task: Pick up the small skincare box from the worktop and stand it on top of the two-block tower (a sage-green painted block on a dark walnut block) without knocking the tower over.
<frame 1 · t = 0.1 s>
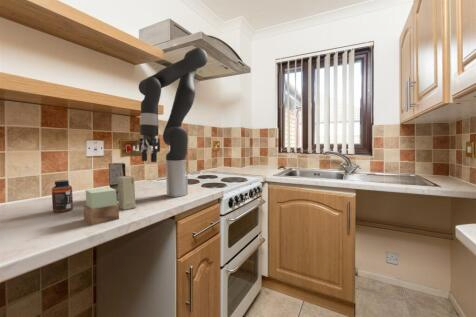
hand: (148, 161, 97), 17 cm above the worktop, tool pointing down, fingers open, 8 cm apart
walnut block: (101, 219, 73), on the worktop, touching green block
supplement bottle: (63, 211, 82), on the worktop
coffee box: (118, 198, 102), on the worktop
green block: (101, 204, 73), point 5 cm above the worktop, touching walnut block
skincare box: (127, 208, 87), on the worktop
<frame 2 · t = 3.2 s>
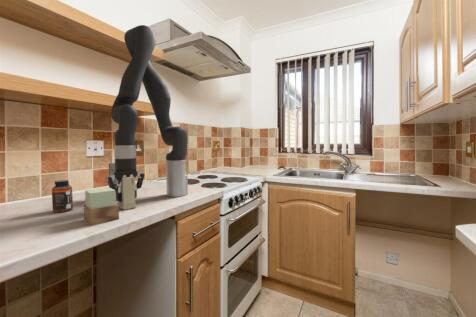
hand: (126, 200, 87), 3 cm above the worktop, tool pointing down, fingers closed on skincare box, 4 cm apart
skincare box: (127, 207, 87), on the worktop, touching gripper
everything else where it was.
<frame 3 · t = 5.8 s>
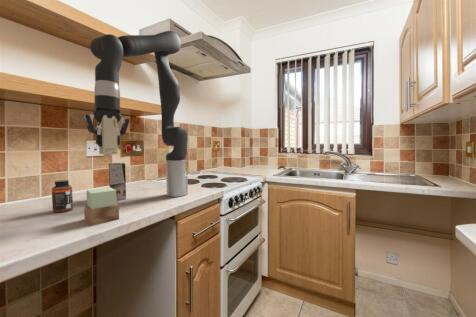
hand: (108, 146, 76), 24 cm above the worktop, tool pointing down, fingers closed on skincare box, 4 cm apart
skincare box: (108, 155, 76), point 21 cm above the worktop, touching gripper
everything else where it was.
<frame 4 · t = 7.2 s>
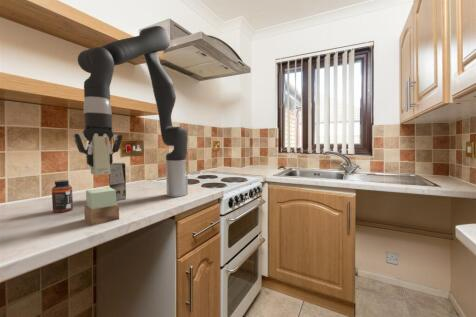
hand: (100, 165, 72), 18 cm above the worktop, tool pointing down, fingers closed on skincare box, 4 cm apart
skincare box: (100, 174, 72), point 15 cm above the worktop, touching gripper
everything else where it was.
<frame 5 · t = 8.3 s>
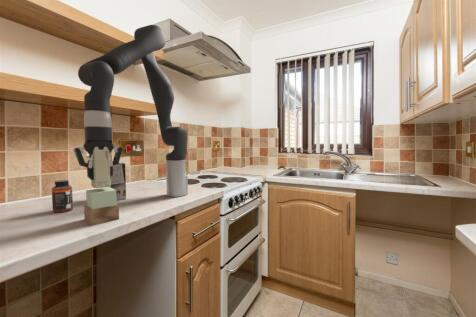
hand: (100, 178, 72), 14 cm above the worktop, tool pointing down, fingers closed on skincare box, 4 cm apart
skincare box: (101, 187, 73), point 11 cm above the worktop, touching gripper
everything else where it was.
when the fingers open (14 cm above the worktop, at t = 8.7 s): skincare box drops 1 cm, resting on green block.
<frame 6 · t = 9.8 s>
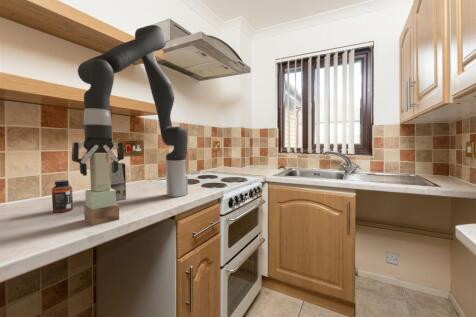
hand: (100, 174, 72), 15 cm above the worktop, tool pointing down, fingers open, 8 cm apart
green block: (101, 205, 72), point 5 cm above the worktop, touching skincare box, walnut block
skincare box: (100, 190, 72), point 10 cm above the worktop, touching green block
everything else where it was.
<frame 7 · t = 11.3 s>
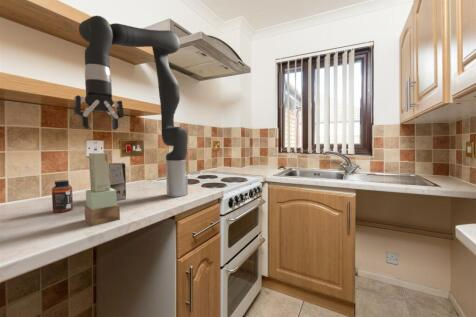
hand: (101, 129, 76), 30 cm above the worktop, tool pointing down, fingers open, 8 cm apart
green block: (101, 205, 72), point 5 cm above the worktop, touching walnut block
skincare box: (100, 190, 72), point 10 cm above the worktop
everything else where it was.
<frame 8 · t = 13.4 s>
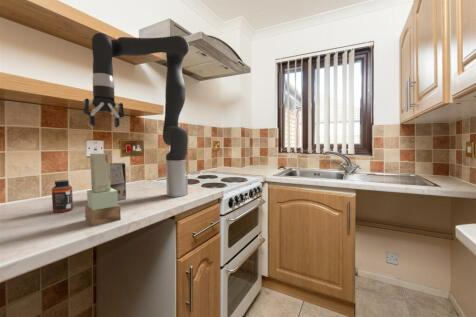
hand: (105, 126, 91), 32 cm above the worktop, tool pointing down, fingers open, 8 cm apart
green block: (102, 205, 72), point 5 cm above the worktop, touching skincare box, walnut block
skincare box: (101, 191, 72), point 10 cm above the worktop, touching green block
at the end: skincare box inside the target area on the walnut block (0.4 cm from its centre), point 9.9 cm above the walnut block's base; skincare box tilted 1°; green block 0.3 cm off-centre on the walnut block, point 5.0 cm above the walnut block's base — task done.
